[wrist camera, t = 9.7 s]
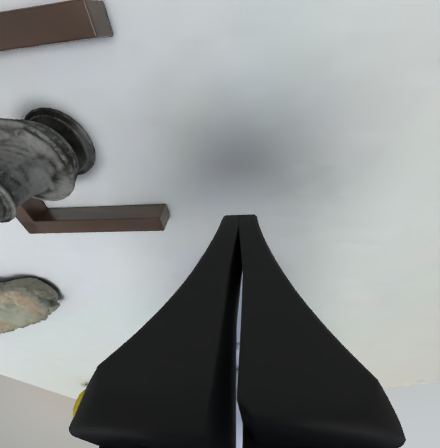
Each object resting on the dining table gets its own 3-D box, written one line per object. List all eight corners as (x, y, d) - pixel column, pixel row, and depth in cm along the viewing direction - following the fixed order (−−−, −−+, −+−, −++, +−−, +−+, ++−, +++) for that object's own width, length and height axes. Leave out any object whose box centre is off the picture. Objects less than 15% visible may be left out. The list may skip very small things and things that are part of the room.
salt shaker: (76, 99, 16) (-143, 197, 7) (110, 175, 20) (-3, 303, 11) (2, 107, 17) (-281, 204, 8) (48, 179, 21) (-107, 301, 12)
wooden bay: (169, 216, 22) (164, 230, 21) (43, 220, 24) (29, 233, 23) (103, 1, 13) (84, -3, 11) (-99, 33, 15) (-140, 34, 13)
